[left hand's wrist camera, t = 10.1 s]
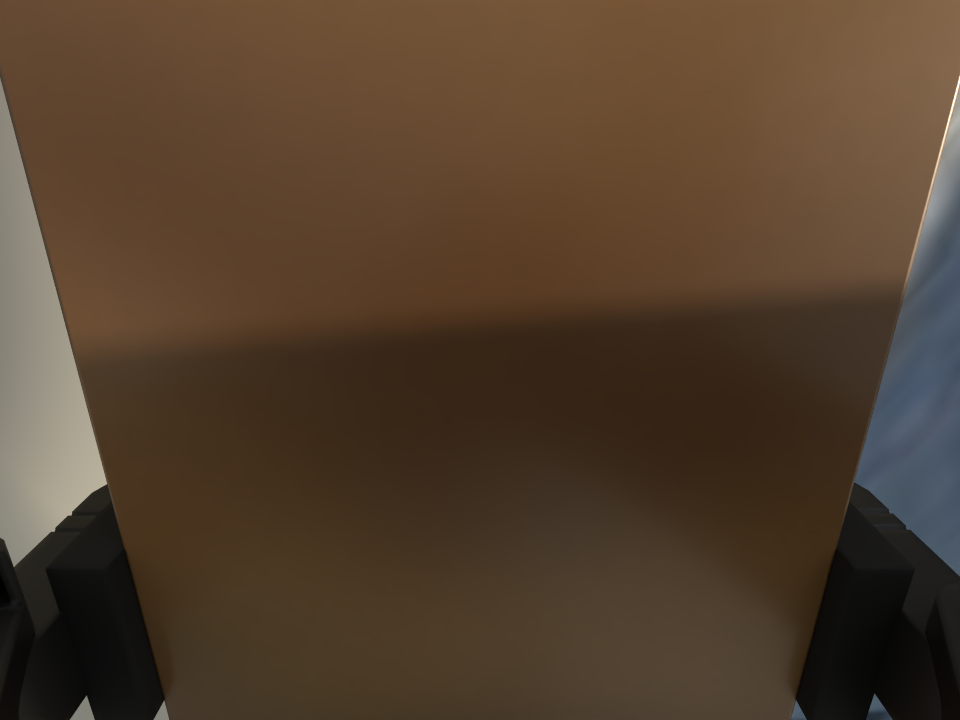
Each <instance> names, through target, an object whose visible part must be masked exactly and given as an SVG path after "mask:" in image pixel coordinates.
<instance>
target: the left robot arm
mask: <svg viewBox="0 0 960 720" xmlns="http://www.w3.org/2000/svg"><path fill="white" fill-rule="evenodd" d="M874 693H875V694H876V696H877V697H878V699H879V700H880V702H881V703H882V704H883V706H884V707H885V709H886V710H887V712H888V713H889V715H890V716H891V717H892V719H893V720H960V576H959V575H957V574H956V573H955V572H954V571H953V570H952V569H951V568H950V567H949V566H948V565H947V564H946V563H945V562H944V561H943V560H942V559H941V558H939V557H938V556H937V555H936V554H935V553H934V552H933V551H932V550H931V549H930V548H929V547H928V546H927V545H926V544H925V543H924V542H923V541H921V540H920V539H919V538H918V537H917V536H916V535H915V534H914V533H913V532H912V531H911V530H906V525H905V524H903V523H902V522H901V521H900V520H899V519H898V518H897V517H896V516H895V515H894V514H890V513H889V509H888V508H887V507H885V506H884V505H883V504H882V503H881V502H880V501H879V500H878V499H877V498H876V497H875V496H874V495H873V494H872V493H871V492H870V491H868V490H867V489H865V488H863V487H861V486H860V485H858V484H856V483H854V485H853V488H852V492H851V496H850V500H849V503H848V507H847V511H846V515H845V518H844V522H843V526H842V529H841V533H840V537H839V541H838V544H837V548H836V552H835V556H834V559H833V563H832V567H831V571H830V574H829V578H828V582H827V586H826V589H825V593H824V597H823V601H822V604H821V608H820V612H819V615H818V619H817V623H816V627H815V630H814V634H813V638H812V642H811V645H810V649H809V653H808V657H807V660H806V664H805V668H804V672H803V675H802V679H801V683H800V687H799V690H798V694H797V698H796V701H797V702H798V704H799V706H800V708H801V710H802V711H803V713H804V715H805V717H806V719H807V720H866V717H867V714H868V711H869V708H870V705H871V702H872V699H873V696H874ZM86 695H87V697H88V700H89V703H90V706H91V709H92V712H93V715H94V719H95V720H153V719H154V718H155V716H156V714H157V712H158V710H159V709H160V707H161V705H162V703H163V701H164V697H163V693H162V689H161V686H160V682H159V678H158V674H157V670H156V667H155V663H154V659H153V655H152V651H151V648H150V644H149V640H148V636H147V632H146V629H145V625H144V621H143V617H142V614H141V610H140V606H139V602H138V598H137V595H136V591H135V587H134V583H133V579H132V576H131V572H130V568H129V564H128V560H127V557H126V553H125V549H124V545H123V541H122V538H121V534H120V530H119V526H118V522H117V519H116V515H115V511H114V507H113V503H112V500H111V496H110V492H109V488H108V484H107V485H105V486H103V487H101V488H100V489H98V490H96V491H94V492H93V493H91V494H90V495H89V496H88V497H87V498H86V499H85V500H84V501H83V502H82V503H81V504H80V505H79V506H78V507H77V508H76V509H75V510H74V511H73V512H72V516H67V517H66V518H65V519H64V520H63V521H62V522H61V523H60V524H59V525H58V526H57V527H56V528H55V532H50V533H49V534H48V535H47V536H46V537H45V538H44V539H43V540H42V541H41V542H40V543H39V544H38V545H37V546H36V547H35V548H34V549H33V550H32V551H31V552H30V553H28V554H27V555H26V556H25V557H24V558H23V559H22V560H21V561H20V562H19V563H18V564H17V565H16V566H15V567H13V564H12V561H11V558H10V555H9V553H8V550H7V547H6V544H5V541H4V540H3V539H1V538H0V720H70V719H71V717H72V716H73V714H74V713H75V711H76V710H77V708H78V707H79V705H80V704H81V703H82V701H83V700H84V698H85V697H86Z"/></svg>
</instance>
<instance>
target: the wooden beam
mask: <svg viewBox="0 0 960 720" xmlns="http://www.w3.org/2000/svg"><path fill="white" fill-rule="evenodd" d="M0 78H1V82H2V86H3V89H4V93H5V97H6V101H7V105H8V108H9V112H10V116H11V120H12V123H13V127H14V131H15V135H16V139H17V143H18V146H19V150H20V154H21V158H22V162H23V165H24V169H25V173H26V177H27V181H28V184H29V188H30V192H31V196H32V199H33V203H34V207H35V211H36V215H37V219H38V222H39V226H40V230H41V234H42V238H43V241H44V245H45V249H46V253H47V256H48V260H49V264H50V268H51V272H52V275H53V279H54V283H55V287H56V291H57V294H58V298H59V302H60V306H61V310H62V313H63V317H64V321H65V325H66V329H67V332H68V336H69V340H70V344H71V348H72V351H73V355H74V359H75V363H76V367H77V370H78V374H79V378H80V382H81V386H82V389H83V393H84V397H85V401H86V405H87V408H88V412H89V416H90V420H91V423H92V427H93V431H94V435H95V439H96V442H97V446H98V450H99V454H100V458H101V461H102V465H103V469H104V473H105V477H106V481H107V484H108V488H109V492H110V496H111V500H112V503H113V507H114V511H115V515H116V519H117V522H118V526H119V530H120V534H121V538H122V541H123V545H124V549H125V553H126V557H127V560H128V564H129V568H130V572H131V576H132V579H133V583H134V587H135V591H136V595H137V598H138V602H139V606H140V610H141V614H142V617H143V621H144V625H145V629H146V632H147V636H148V640H149V644H150V648H151V651H152V655H153V659H154V663H155V667H156V670H157V674H158V678H159V682H160V686H161V689H162V693H163V697H164V701H165V705H166V708H167V712H168V716H169V720H791V716H792V713H793V709H794V705H795V701H796V698H797V694H798V690H799V687H800V683H801V679H802V675H803V672H804V668H805V664H806V660H807V657H808V653H809V649H810V645H811V642H812V638H813V634H814V630H815V627H816V623H817V619H818V615H819V612H820V608H821V604H822V601H823V597H824V593H825V589H826V586H827V582H828V578H829V574H830V571H831V567H832V563H833V559H834V556H835V552H836V548H837V544H838V541H839V537H840V533H841V529H842V526H843V522H844V518H845V515H846V511H847V507H848V503H849V500H850V496H851V492H852V488H853V485H854V481H855V477H856V473H857V470H858V466H859V462H860V458H861V455H862V451H863V447H864V444H865V440H866V436H867V432H868V429H869V425H870V421H871V417H872V414H873V410H874V406H875V402H876V399H877V395H878V391H879V387H880V384H881V380H882V376H883V372H884V369H885V365H886V361H887V358H888V354H889V350H890V346H891V343H892V339H893V335H894V331H895V328H896V324H897V320H898V316H899V313H900V309H901V305H902V301H903V298H904V294H905V290H906V286H907V283H908V279H909V275H910V272H911V268H912V264H913V260H914V257H915V253H916V249H917V245H918V242H919V238H920V234H921V230H922V227H923V223H924V219H925V215H926V212H927V208H928V204H929V201H930V197H931V193H932V189H933V186H934V182H935V178H936V174H937V171H938V167H939V163H940V159H941V156H942V152H943V148H944V144H945V141H946V137H947V133H948V129H949V126H950V122H951V118H952V115H953V111H954V107H955V103H956V100H957V96H958V92H959V88H960V0H0Z"/></svg>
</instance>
